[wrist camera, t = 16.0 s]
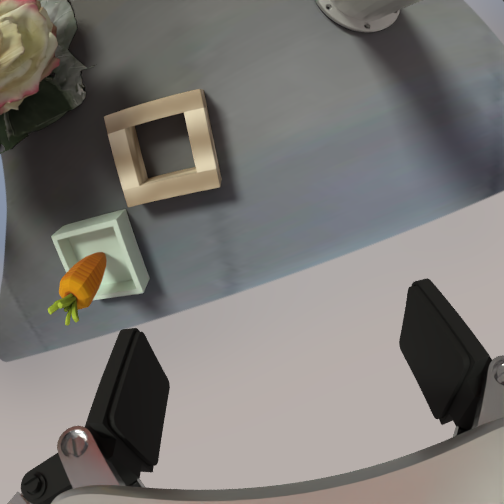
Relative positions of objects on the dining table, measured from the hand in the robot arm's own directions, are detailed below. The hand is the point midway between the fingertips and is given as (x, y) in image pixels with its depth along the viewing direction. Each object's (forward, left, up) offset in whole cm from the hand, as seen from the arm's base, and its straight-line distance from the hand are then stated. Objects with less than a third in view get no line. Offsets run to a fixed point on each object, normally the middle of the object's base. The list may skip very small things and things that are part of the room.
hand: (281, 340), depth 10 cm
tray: (+9, -24, -32) cm, 41 cm away
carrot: (+9, -24, -31) cm, 40 cm away
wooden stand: (-4, -10, -32) cm, 34 cm away
